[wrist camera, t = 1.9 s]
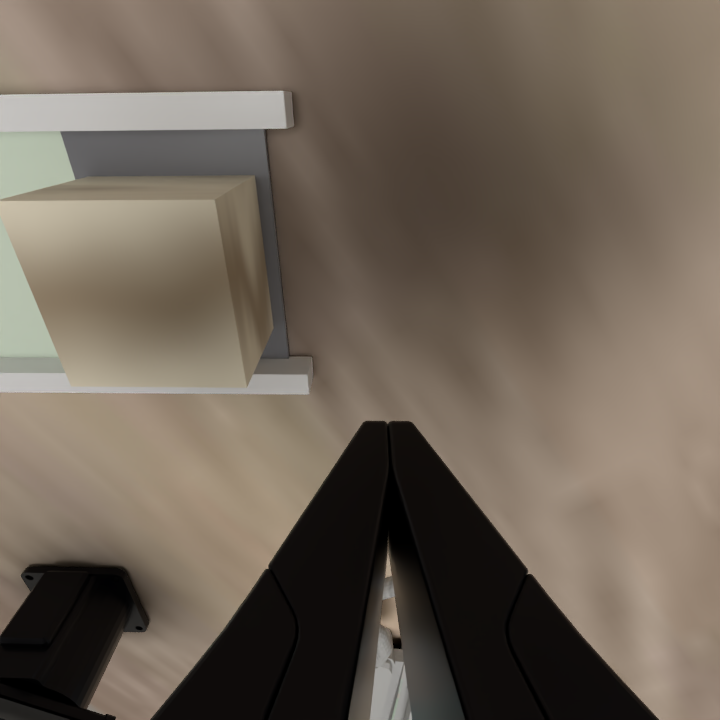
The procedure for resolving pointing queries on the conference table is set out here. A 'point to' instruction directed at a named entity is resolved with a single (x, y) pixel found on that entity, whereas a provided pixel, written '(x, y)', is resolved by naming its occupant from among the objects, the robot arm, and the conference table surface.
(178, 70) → the conference table surface
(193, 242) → the birch block
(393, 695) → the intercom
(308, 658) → the robot arm
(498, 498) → the conference table surface
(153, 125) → the trap lane
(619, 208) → the conference table surface
